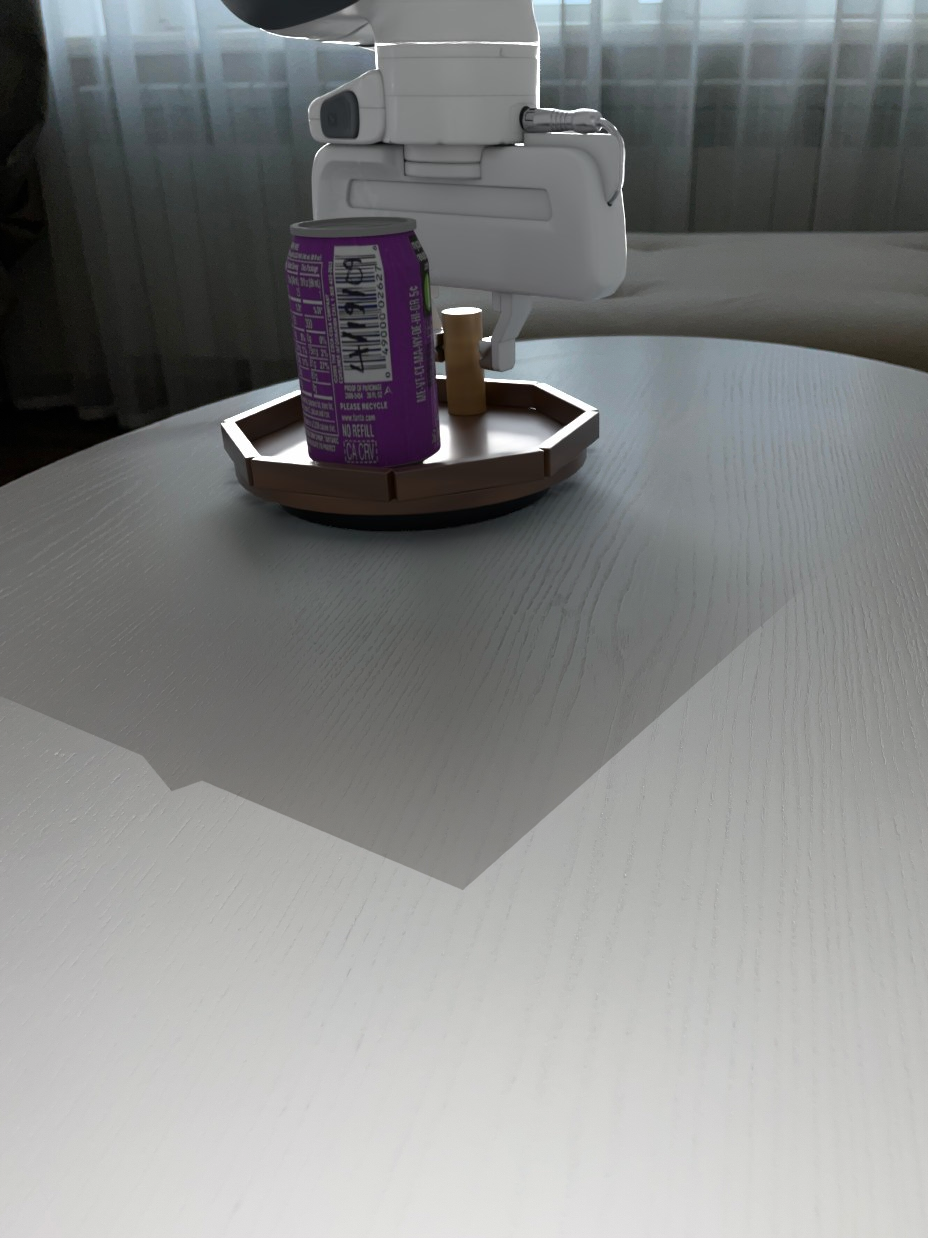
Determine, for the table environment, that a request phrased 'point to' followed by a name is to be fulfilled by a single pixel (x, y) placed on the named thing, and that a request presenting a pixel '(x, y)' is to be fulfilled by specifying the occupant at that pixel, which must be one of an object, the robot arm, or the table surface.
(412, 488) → the tray
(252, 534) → the table surface
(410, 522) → the turntable base
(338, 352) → the beverage can
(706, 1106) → the table surface
